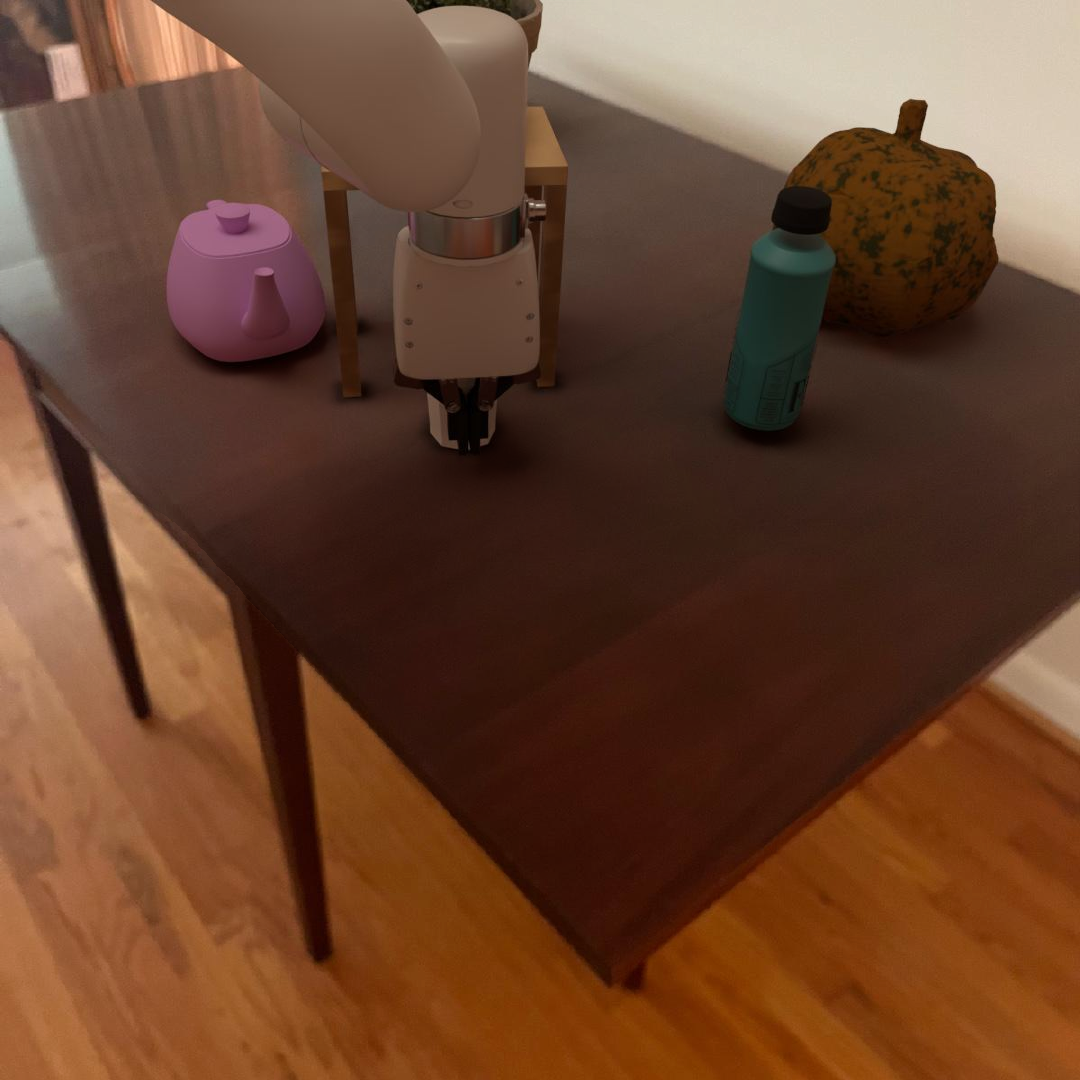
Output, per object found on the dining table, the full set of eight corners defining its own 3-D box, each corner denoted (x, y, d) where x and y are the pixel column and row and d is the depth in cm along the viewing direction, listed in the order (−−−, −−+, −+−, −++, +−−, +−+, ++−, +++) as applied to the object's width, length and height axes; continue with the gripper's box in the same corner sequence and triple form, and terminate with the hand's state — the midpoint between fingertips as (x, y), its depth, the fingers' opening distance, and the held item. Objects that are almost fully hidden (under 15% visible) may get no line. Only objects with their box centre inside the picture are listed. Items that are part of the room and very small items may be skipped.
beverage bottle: (788, 455, 85) (848, 221, 71) (708, 435, 86) (752, 203, 73) (802, 412, 89) (860, 185, 76) (726, 394, 91) (769, 168, 77)
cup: (498, 405, 88) (501, 287, 81) (508, 453, 83) (511, 332, 76) (419, 409, 87) (415, 290, 80) (424, 458, 82) (419, 336, 75)
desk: (343, 397, 88) (321, 171, 75) (341, 323, 97) (320, 109, 84) (554, 386, 91) (568, 165, 78) (533, 315, 99) (542, 106, 86)
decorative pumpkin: (791, 360, 94) (848, 129, 82) (740, 266, 110) (781, 63, 98) (1005, 368, 96) (1091, 144, 84) (923, 275, 112) (985, 77, 100)
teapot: (155, 300, 98) (128, 178, 90) (294, 274, 103) (279, 156, 95) (208, 414, 85) (181, 284, 77) (363, 379, 90) (353, 252, 82)
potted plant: (370, 118, 134) (355, -108, 117) (503, 101, 140) (507, -115, 123) (419, 174, 122) (411, -68, 105) (563, 153, 128) (576, -78, 111)
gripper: (569, 192, 72) (556, 411, 84) (349, 197, 70) (368, 421, 82) (588, 243, 67) (571, 469, 79) (350, 250, 65) (371, 481, 77)
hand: (467, 444), depth 81 cm, fingers closed
